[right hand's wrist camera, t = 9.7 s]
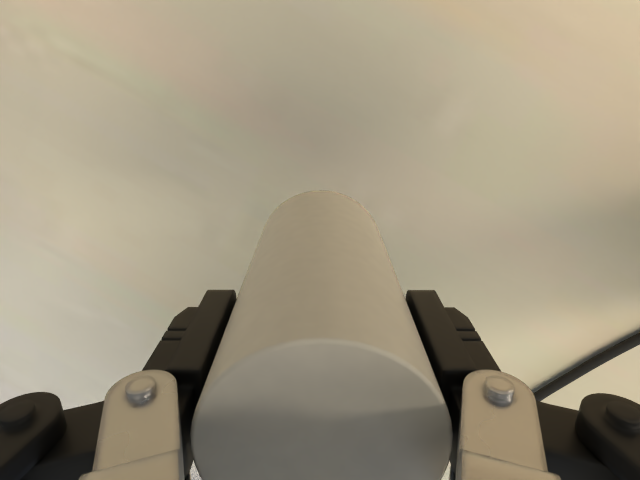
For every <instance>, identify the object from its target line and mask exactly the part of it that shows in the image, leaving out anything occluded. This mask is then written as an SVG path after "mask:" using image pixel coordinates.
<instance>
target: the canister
mask: <svg viewBox="0 0 640 480" xmlns="http://www.w3.org/2000/svg"><path fill="white" fill-rule="evenodd" d="M190 438H191V450H192V454H193V459H194V463H195V466H196V468H197V470H198V473H199V475H200V477H201V478H202V480H441V478H442V477H443V475H444V473H445V470H446V468H447V466H448V463H449V459H450V455H451V450H452V439H453V431H452V423H451V418H450V415H449V411H448V408H447V405H446V403H445V400H444V398H443V395H442V392H441V390H440V387H439V385H438V382H437V380H436V377H435V374H434V372H433V369H432V367H431V364H430V362H429V359H428V356H427V354H426V351H425V349H424V346H423V344H422V341H421V338H420V336H419V333H418V331H417V328H416V325H415V323H414V320H413V318H412V315H411V313H410V310H409V307H408V305H407V302H406V300H405V297H404V295H403V292H402V289H401V287H400V284H399V282H398V279H397V277H396V274H395V271H394V269H393V266H392V264H391V261H390V258H389V256H388V253H387V251H386V248H385V246H384V243H383V240H382V238H381V235H380V233H379V230H378V228H377V225H376V223H375V221H374V219H373V218H372V216H371V215H370V214H369V212H368V211H367V210H366V209H365V208H364V207H363V206H362V205H360V204H359V203H358V202H356V201H355V200H353V199H352V198H350V197H348V196H346V195H343V194H340V193H337V192H331V191H321V190H320V191H310V192H305V193H302V194H299V195H296V196H294V197H292V198H290V199H288V200H286V201H285V202H283V203H282V204H281V205H280V206H279V207H277V208H276V209H275V211H274V212H273V213H272V214H271V216H270V217H269V219H268V220H267V222H266V224H265V226H264V229H263V231H262V234H261V237H260V239H259V242H258V244H257V247H256V250H255V252H254V255H253V258H252V260H251V263H250V266H249V268H248V271H247V274H246V276H245V279H244V282H243V284H242V287H241V289H240V292H239V295H238V297H237V300H236V303H235V305H234V308H233V311H232V313H231V316H230V319H229V321H228V324H227V327H226V329H225V332H224V334H223V337H222V340H221V342H220V345H219V348H218V350H217V353H216V356H215V358H214V361H213V364H212V366H211V369H210V372H209V374H208V377H207V379H206V382H205V385H204V387H203V390H202V393H201V395H200V398H199V401H198V403H197V406H196V409H195V412H194V416H193V419H192V424H191V433H190Z"/></svg>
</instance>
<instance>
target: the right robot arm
mask: <svg viewBox="0 0 640 480" xmlns="http://www.w3.org/2000/svg"><path fill="white" fill-rule="evenodd" d="M236 300H237V299H236V293H235V291H234V290H207V292H206V294H205V295H204V297H203V299H202V301H201V303H200V305H199V307H188V308H186V309H185V310H184V311H182V312H181V313H179V314H178V315H177V316H175V317H174V319H173V321H172V322H171V324H170V326H169V327H168V331H166V332H165V334H164V335H163V337H162V341H160V342H159V344H158V345H157V347H156V349H155V350H154V352H153V353H152V355H151V357H150V358H149V360H148V362H147V363H146V365H145V367H144V368H143V370H142V371H140V372H136V373H133V374H131V375H128V376H126V377H124V378H123V379H121V380H119V381H118V382H117V383H115V384H114V385H113V386H112V387H111V388H110V390H109V391H108V392H107V394H106V396H105V400H104V401H102V402H98V403H94V404H90V405H85V406H81V407H76V408H72V409H67V410H63V408H62V405H61V401H60V399H59V398H58V397H57V396H56V395H54V394H52V393H47V392H35V393H29V394H24V395H21V396H18V397H15V398H12V399H10V400H8V401H6V402H4V403H2V404H0V480H191V474H190V469H191V466H192V463H193V460H194V459H193V454H192V450H191V438H190V433H191V424H192V419H193V416H194V412H195V409H196V406H197V403H198V401H199V398H200V395H201V393H202V390H203V387H204V385H205V382H206V379H207V377H208V374H209V372H210V369H211V366H212V364H213V361H214V358H215V356H216V353H217V350H218V348H219V345H220V342H221V340H222V337H223V334H224V332H225V329H226V327H227V324H228V321H229V319H230V316H231V313H232V311H233V308H234V305H235V303H236ZM406 302H407V305H408V307H409V310H410V313H411V315H412V318H413V320H414V323H415V325H416V328H417V331H418V333H419V336H420V338H421V341H422V344H423V346H424V349H425V351H426V354H427V356H428V359H429V362H430V364H431V367H432V369H433V372H434V374H435V377H436V380H437V382H438V385H439V387H440V390H441V392H442V395H443V398H444V400H445V403H446V405H447V408H448V411H449V415H450V418H451V423H452V431H453V439H452V450H451V455H450V459H449V460H450V463H451V467H450V474H449V480H640V405H639V404H637V403H635V402H633V401H631V400H628V399H626V398H623V397H620V396H616V395H612V394H604V393H596V394H591V395H588V396H586V397H584V399H583V400H582V402H581V405H580V408H579V411H577V410H573V409H568V408H564V407H559V406H555V405H550V404H546V403H543V402H540V401H541V400H543V399H544V398H546V397H548V396H549V395H551V394H552V393H554V392H556V391H557V390H559V389H561V388H562V387H564V386H566V385H567V384H569V383H571V382H572V381H574V380H576V379H578V378H579V377H581V376H583V375H584V374H586V373H588V372H589V371H591V370H593V369H595V368H596V367H598V366H600V365H602V364H603V363H605V362H607V361H609V360H611V359H613V358H614V357H616V356H618V355H620V354H622V353H624V352H626V351H628V350H630V349H632V348H634V347H636V346H638V345H639V344H640V333H638V334H636V335H634V336H632V337H630V338H628V339H626V340H624V341H622V342H621V343H619V344H617V345H615V346H613V347H611V348H609V349H607V350H606V351H604V352H602V353H600V354H598V355H597V356H595V357H593V358H591V359H590V360H588V361H586V362H584V363H583V364H581V365H579V366H578V367H576V368H574V369H573V370H571V371H569V372H568V373H566V374H564V375H563V376H561V377H559V378H558V379H556V380H554V381H553V382H551V383H549V384H548V385H546V386H544V387H543V388H541V389H540V390H538V391H537V392H535V393H534V394H533V392H532V391H531V390H530V388H529V387H528V386H527V385H526V384H525V383H523V382H522V381H521V380H519V379H517V378H516V377H514V376H512V375H509V374H507V373H504V372H501V370H500V369H499V367H498V366H497V364H496V362H495V361H494V359H493V357H492V356H491V354H490V353H489V351H488V349H487V348H486V346H485V344H484V343H483V341H481V338H480V336H479V335H478V333H477V332H476V331H475V328H474V327H473V325H472V323H471V322H470V320H469V319H468V317H466V316H465V315H464V314H462V313H461V312H460V311H458V310H457V309H456V308H444V306H443V304H442V303H441V301H440V299H439V297H438V295H437V293H436V292H435V291H434V290H408V291H407V294H406Z"/></svg>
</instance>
